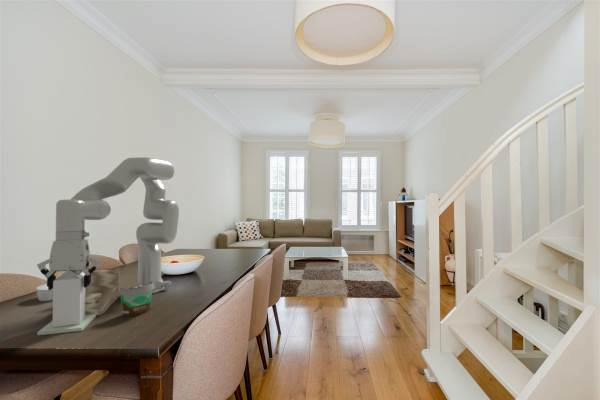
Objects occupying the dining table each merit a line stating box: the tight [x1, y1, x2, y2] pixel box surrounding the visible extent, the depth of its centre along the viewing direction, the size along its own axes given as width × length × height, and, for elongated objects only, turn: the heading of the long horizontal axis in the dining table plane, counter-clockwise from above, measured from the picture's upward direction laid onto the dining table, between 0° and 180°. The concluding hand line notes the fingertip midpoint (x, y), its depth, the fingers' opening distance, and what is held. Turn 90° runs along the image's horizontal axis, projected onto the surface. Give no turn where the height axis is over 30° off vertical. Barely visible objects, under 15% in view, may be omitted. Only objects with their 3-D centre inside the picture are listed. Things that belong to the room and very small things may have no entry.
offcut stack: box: [85, 293, 102, 304], centre depth 107 cm, size 10×7×6 cm, turn 107°
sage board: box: [37, 314, 97, 336], centre depth 95 cm, size 12×12×1 cm
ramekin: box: [35, 283, 53, 302], centre depth 122 cm, size 11×11×5 cm
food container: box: [118, 281, 154, 317], centre depth 107 cm, size 12×6×10 cm, turn 148°
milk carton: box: [52, 267, 85, 327], centre depth 95 cm, size 7×7×19 cm
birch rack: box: [85, 269, 120, 316], centre depth 111 cm, size 14×19×12 cm
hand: (69, 287), depth 95 cm, fingers open, 9 cm apart
